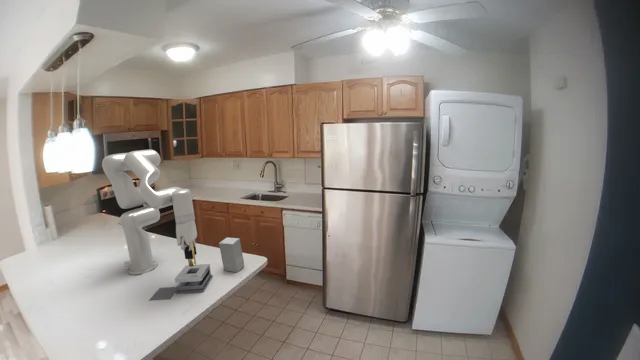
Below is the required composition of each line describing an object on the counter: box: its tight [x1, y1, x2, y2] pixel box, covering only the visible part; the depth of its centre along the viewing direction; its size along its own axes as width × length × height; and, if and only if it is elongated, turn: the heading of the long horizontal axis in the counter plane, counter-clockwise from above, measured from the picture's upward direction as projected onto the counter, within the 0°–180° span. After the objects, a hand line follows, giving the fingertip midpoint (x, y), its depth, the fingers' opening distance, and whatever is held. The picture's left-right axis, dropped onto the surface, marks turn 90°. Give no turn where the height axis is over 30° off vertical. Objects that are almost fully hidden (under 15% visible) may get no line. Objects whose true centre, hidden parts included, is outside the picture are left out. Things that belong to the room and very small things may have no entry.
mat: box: [148, 286, 177, 302], centre depth 118 cm, size 9×9×1 cm
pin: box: [185, 242, 197, 267], centre depth 119 cm, size 3×3×12 cm
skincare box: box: [218, 236, 245, 273], centre depth 135 cm, size 8×7×16 cm
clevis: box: [174, 263, 214, 295], centre depth 122 cm, size 12×12×8 cm
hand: (191, 256), depth 120 cm, fingers closed on pin, 3 cm apart
